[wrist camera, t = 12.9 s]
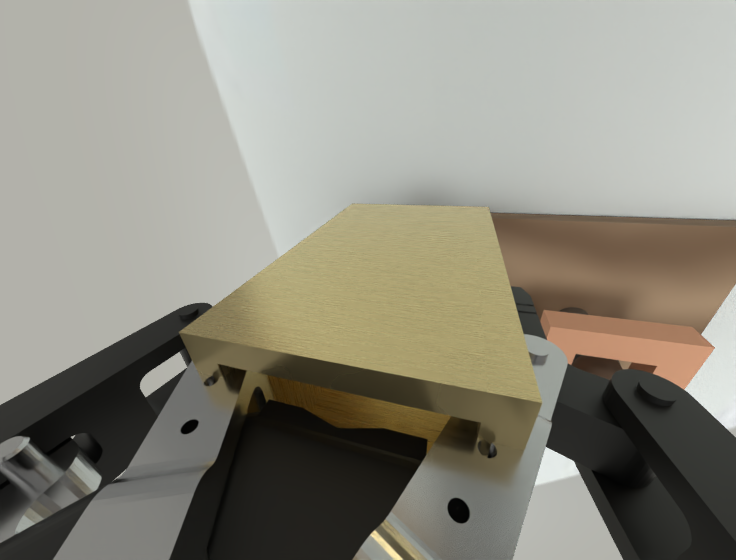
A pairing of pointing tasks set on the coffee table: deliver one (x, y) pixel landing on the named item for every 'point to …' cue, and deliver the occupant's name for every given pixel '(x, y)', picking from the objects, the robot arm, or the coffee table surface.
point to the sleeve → (384, 326)
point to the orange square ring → (630, 343)
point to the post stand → (620, 269)
